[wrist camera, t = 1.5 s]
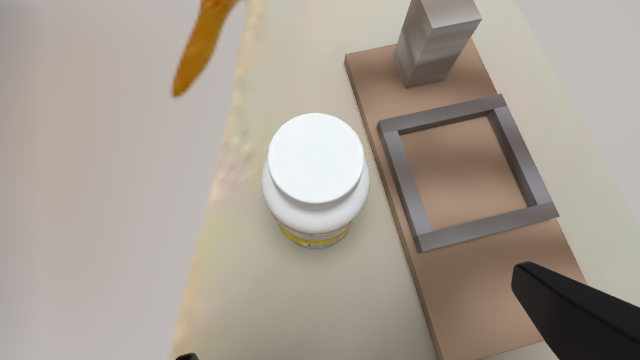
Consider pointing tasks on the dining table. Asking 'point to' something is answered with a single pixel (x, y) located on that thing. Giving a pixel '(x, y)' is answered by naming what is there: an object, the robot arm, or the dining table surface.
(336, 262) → the dining table surface
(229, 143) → the dining table surface
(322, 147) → the supplement bottle
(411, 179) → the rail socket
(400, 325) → the dining table surface
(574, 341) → the robot arm
